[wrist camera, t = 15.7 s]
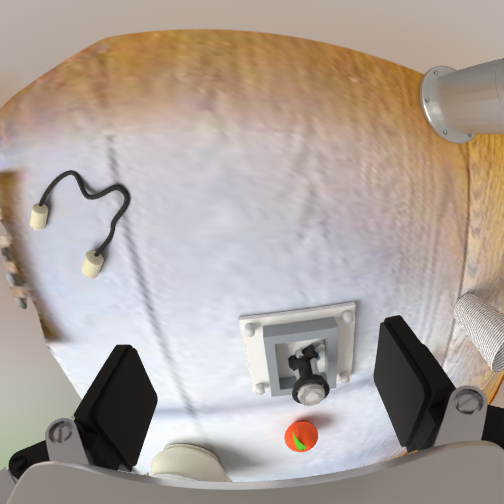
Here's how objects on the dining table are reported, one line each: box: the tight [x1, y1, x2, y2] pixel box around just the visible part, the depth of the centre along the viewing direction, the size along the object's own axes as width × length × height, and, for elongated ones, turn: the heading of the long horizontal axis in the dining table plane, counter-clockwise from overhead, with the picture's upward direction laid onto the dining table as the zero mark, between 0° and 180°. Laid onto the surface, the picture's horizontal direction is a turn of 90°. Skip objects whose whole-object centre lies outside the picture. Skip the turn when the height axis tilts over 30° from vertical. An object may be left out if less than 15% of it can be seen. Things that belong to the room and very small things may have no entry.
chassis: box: [238, 302, 355, 397], centre depth 44 cm, size 18×16×4 cm
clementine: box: [284, 422, 318, 452], centre depth 50 cm, size 8×7×7 cm
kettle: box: [144, 444, 232, 482], centre depth 47 cm, size 25×18×25 cm
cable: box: [30, 170, 129, 278], centre depth 38 cm, size 16×16×4 cm
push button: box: [288, 341, 330, 406], centre depth 40 cm, size 7×5×10 cm
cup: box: [453, 293, 504, 372], centre depth 36 cm, size 8×8×16 cm
